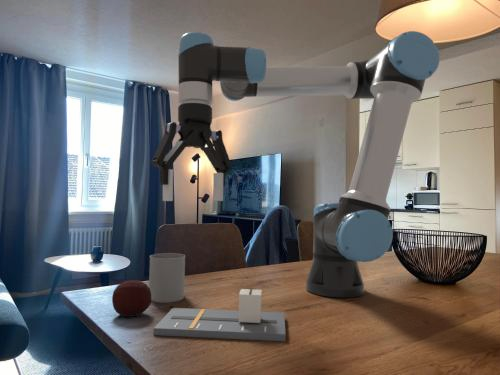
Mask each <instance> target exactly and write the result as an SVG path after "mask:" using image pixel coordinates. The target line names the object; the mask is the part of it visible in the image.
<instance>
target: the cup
mask: <svg viewBox="0 0 500 375" xmlns="http://www.w3.org/2000/svg"><path fill="white" fill-rule="evenodd" d="M185 267H186V255H185V254H182V253H175V252H173V253H171V252H166V253H165V252H164V253H154V254H151V255H149V273H148V274H149V278H148V287H149V288H150V291H151V302H155V303H174V302H175V303H176V302H178V301H181V300H183V299H184V298H185V280H186V279H185V277H186V276H185V273H186V272H185V271H186V268H185Z"/></svg>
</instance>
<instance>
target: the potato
mask: <svg viewBox="0 0 500 375" xmlns="http://www.w3.org/2000/svg"><path fill="white" fill-rule="evenodd" d="M111 299H112V306H113V309H114V311H115V312H116V314H118V315H120V316H122V317H133V316H134V317H135V316H139V315H141V314H142V313H144V312H146V310H148V308H149V307H150V306H151V303H152V301H151V291H150V288H149V285H147V284H146V283H145V282H143V281H141V280H135V279H133V280H126V281H123V282H121V283H119V284H118V285H117V286H116V287H115V289H114V290H113V292H112V297H111Z"/></svg>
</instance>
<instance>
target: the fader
mask: <svg viewBox="0 0 500 375" xmlns="http://www.w3.org/2000/svg"><path fill="white" fill-rule="evenodd" d="M262 292H263V291H262V289H253V288H247V289H245V288H241V289H240V290H239V294H238V311H239V320H238V322H252V323H260V321H261V312H262V299H263V298H262V297H263V296H262V294H263V293H262Z"/></svg>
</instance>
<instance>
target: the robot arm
mask: <svg viewBox="0 0 500 375" xmlns="http://www.w3.org/2000/svg"><path fill="white" fill-rule="evenodd" d="M178 46H179V48H178V100H177V101H178V104H179V105H178V107H177V111H178V112H177V121H178V122H179V123H178V124H177V123H176V122H175V121H172V122H169V123H166V124H165V128H164V134H163V136H162V138H161V140H160V142H159V145H158V147H157V149H156V151H155V153H154V155H153V157H152V159H151V160H150V164H151V166H153V167H156V168H157V169H158V170H159V184H160V185H162V201H163V202H173V201H174V169H171V167H172V165H173V164H174V163H175V161H176V160H177V159H178V158H179V156H180V155H181V154H182V153H183V152H184V150H185V148H187V147H188V148H191V147H192V148H195V149H200V150H201V151H203V153H204V155H206V157H207V159H208V161H209V162H210V164H211V166H212V168H214V170H215V172H213V173H212V175H213V176H212V177H213V178H212V179H213V181H212V182H213V188H212V189H213V191H212V192H213V194H212V196H213V197H212V201H213V202H217V201H218V202H223V201H224V187H225V186H226V174H227V173H229V171H232V170H233V166H232V163H231V160H230V158H229V154H228V151H227V148H226V145H225V143H224V141H223V132H222V130H221V129H219V130H218V129H217V130H212V128H211V124H212V123H213V107H212V105H213V81H215V82H219V84H220V90H221V93H222V95H223V96H224V97H225V98H226V99H227V100H228V101H232V102H236V101H240V100H242V99H244V98H252V97H253V98H254V97H257V98H258V97H298V96H299V97H301V96H302V97H306V96H309V97H310V96H311V97H314V96H317V97H318V96H345V97H346V99H349V100H350V99H351V100H353V99H354V100H356V99H359V100H360V99H363V100H365V99H366V100H368V99H370V100H371V99H372V100H373V101H372V105H371V108H370V109H371V110H370V113H369V117H368V119H367V123H366V127H365V131H364V134H363V138H362V142H361V146H360V148H359V152H358V156H357V160H356V163H355V166H354V170H353V174H352V178H351V181H350V185H349V188H348V190H347V192H345V193H343V194H342V195H340V196H339V200H338V202H330V203H321V204H318V205H316V206H315V207H314V209H313V216H312V220H313V225H312V226H313V227H312V228H313V232H312V233H313V235H312V240H313V241H312V242H313V243H312V244H313V245H312V254H313V255H312V263H311V265H310V268H309V271H308V274H307V277H306V281H305V289H306V291H307V292H309V293H312V294H315V295H318V296H322V297H331V298H355V297H361V296H363V295H364V294H365V283H364V280H363V277H362V274H361V271H360V267H359V265H358V264H359V263H370V262H373V261H376V260H378V259H381V257H383V256H384V255H385V254H386V253H387V252H388V250H389V249H390V247H391V245H392V242H393V238H394V235H393V234H394V233H393V232H394V231H393V227H392V225H391V223H390V221H389V218H390V217H389V216H390V213H391V207H390V205H389V204H388V202H387V198H388V193H389V190H390V186H391V183H392V178H393V174H394V170H395V169H396V168H395V167H396V164H397V159H398V156H399V152H400V149H401V146H402V141H403V137H404V133H405V129H406V128H407V122H408V119H409V116H410V110H411V108H412V104H413V103H416V102H417V101H419V100H420V99H421V98H422V97H421V96H422V94H423V91H424V90H423V89H424V86H425V82H426V80H427V79H429V78H430V77H432V76H433V74H434V73H435V72H436V71H437V70H438V68H439V65H440V59H441V58H440V52H439V48H438V47H437V46H436V45H435V43H434V41H433V40H432V38H431V37H429V36H428V35H426V34H424V33H422V32H421V31H417V30H416V31H414V30H413V31H411V30H410V31H405V32H403V33H401V34H399V35H396V36H395V37H394V38H392V39H391V40H390V41H389V43H388V44H386V45H385V46H384V47H383V48H382V49H381V50H379V51H378V52H377V53H376V54H374V55H373V56H372V57H370V58H368V59H364V60H362V61H352V62H351V61H350V62H348V63H347V64H346V65H343V66H342V65H338V66H337V65H335V66H334V65H333V66H330V65H329V66H328V65H326V66H325V65H324V66H323V65H321V66H319V65H318V66H267V55H266V52H265V50H263V49H262V48H256V47H255V48H254V47H250V46H248V47H242V46H219V45H214V40H213V38H212V37H211V36H210V35H209V34H206V33H202V32H199V31H191V32H186V33H185V34H183V35H182V36H181V37H180V40H179V45H178ZM177 133H178V135H179V138H178V139H177V141H176V142H175V144H174V146H172V148H171V145H172V143H173V141H174V140H175V136H176V135H177ZM170 148H171V149H170ZM169 149H170V151H169ZM358 262H359V263H358Z"/></svg>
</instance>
